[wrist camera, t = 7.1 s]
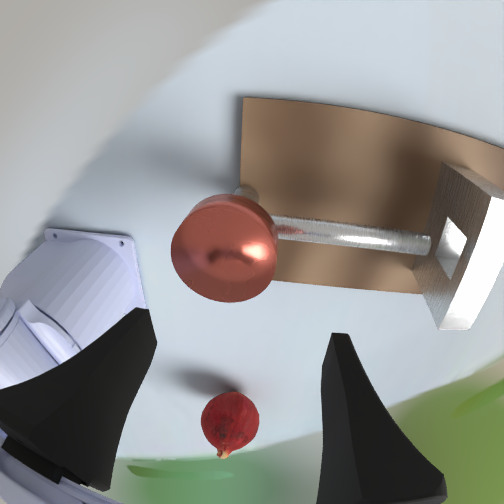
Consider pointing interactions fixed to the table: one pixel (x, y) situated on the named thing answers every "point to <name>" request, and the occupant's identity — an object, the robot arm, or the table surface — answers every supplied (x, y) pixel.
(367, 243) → the red knob lever
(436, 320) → the grey rectangular block
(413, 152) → the board
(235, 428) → the onion
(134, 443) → the table surface
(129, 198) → the table surface
